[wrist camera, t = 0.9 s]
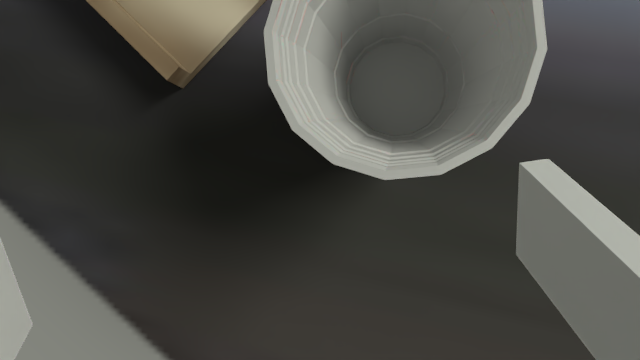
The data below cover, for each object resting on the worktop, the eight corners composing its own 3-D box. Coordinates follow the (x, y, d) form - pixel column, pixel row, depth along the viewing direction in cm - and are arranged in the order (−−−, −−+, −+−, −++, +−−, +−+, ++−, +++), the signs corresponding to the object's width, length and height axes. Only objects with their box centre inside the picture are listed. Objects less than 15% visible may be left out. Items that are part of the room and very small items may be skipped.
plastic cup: (309, -12, 35) (274, -115, 23) (498, 2, 34) (562, -98, 22) (290, 173, 35) (244, 165, 23) (478, 192, 34) (531, 195, 22)
